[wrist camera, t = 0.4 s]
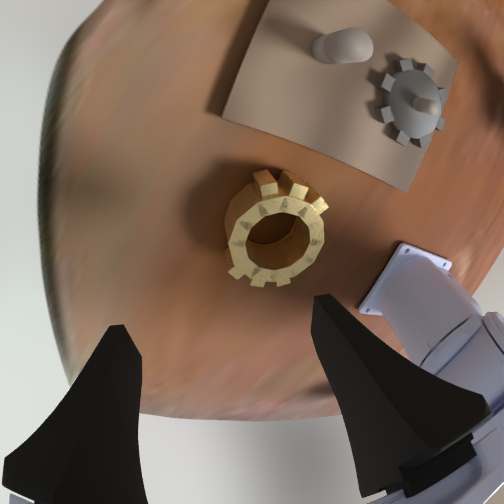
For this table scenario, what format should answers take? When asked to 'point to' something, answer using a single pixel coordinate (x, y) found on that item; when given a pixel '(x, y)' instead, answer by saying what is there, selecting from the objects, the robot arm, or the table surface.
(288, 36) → the gear board
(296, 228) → the gear
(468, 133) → the table surface
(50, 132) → the table surface
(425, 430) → the robot arm
